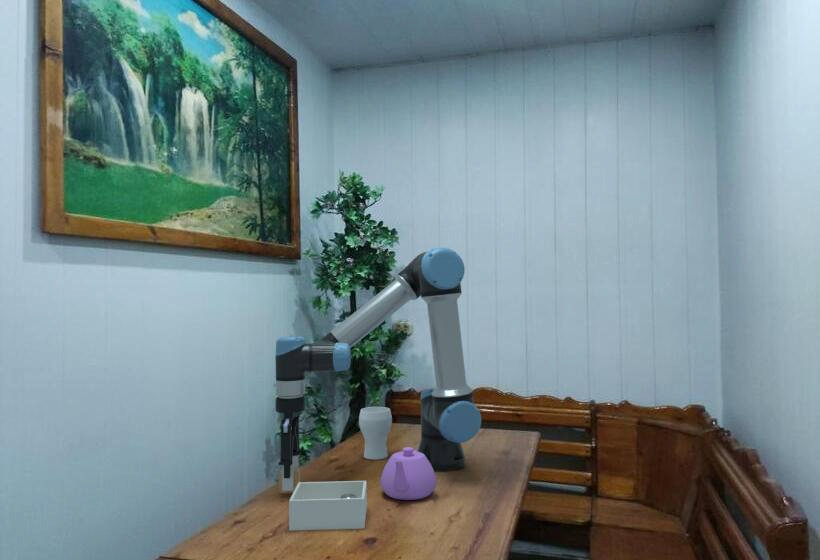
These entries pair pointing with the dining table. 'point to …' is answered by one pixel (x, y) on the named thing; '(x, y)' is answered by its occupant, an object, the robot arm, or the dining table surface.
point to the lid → (295, 480)
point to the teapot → (408, 475)
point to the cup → (375, 431)
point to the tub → (328, 506)
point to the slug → (348, 496)
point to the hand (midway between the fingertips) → (290, 485)
